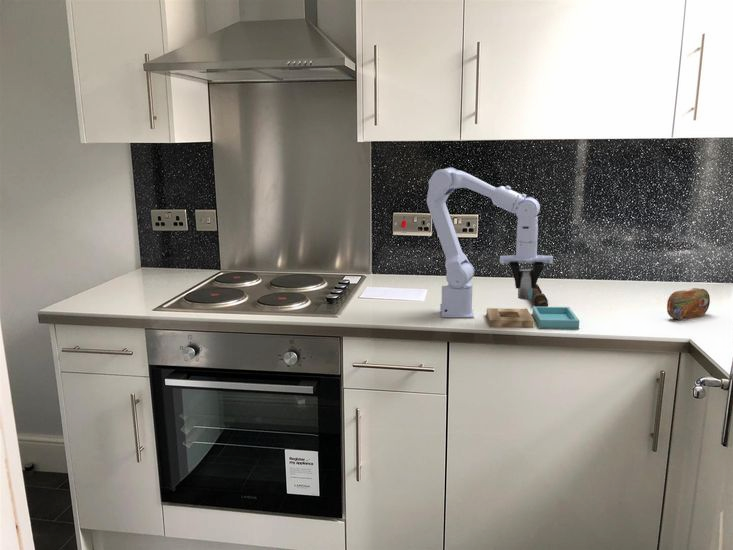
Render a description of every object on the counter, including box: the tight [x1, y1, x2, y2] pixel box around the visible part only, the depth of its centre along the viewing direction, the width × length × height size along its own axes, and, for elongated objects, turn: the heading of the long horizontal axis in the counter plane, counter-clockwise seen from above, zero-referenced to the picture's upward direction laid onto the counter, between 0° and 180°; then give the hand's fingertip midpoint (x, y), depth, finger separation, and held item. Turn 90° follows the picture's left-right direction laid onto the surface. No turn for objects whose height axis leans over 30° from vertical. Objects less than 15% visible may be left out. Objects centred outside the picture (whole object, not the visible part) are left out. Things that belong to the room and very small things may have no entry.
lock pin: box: [517, 268, 533, 300], centre depth 179 cm, size 4×4×8 cm
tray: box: [531, 306, 580, 330], centre depth 180 cm, size 11×14×2 cm
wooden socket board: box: [486, 307, 534, 329], centre depth 181 cm, size 12×12×2 cm
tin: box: [666, 287, 711, 321], centre depth 181 cm, size 15×3×8 cm, turn 114°
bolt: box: [530, 283, 549, 307], centre depth 198 cm, size 6×5×15 cm
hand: (525, 287), depth 179 cm, fingers closed on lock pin, 4 cm apart
